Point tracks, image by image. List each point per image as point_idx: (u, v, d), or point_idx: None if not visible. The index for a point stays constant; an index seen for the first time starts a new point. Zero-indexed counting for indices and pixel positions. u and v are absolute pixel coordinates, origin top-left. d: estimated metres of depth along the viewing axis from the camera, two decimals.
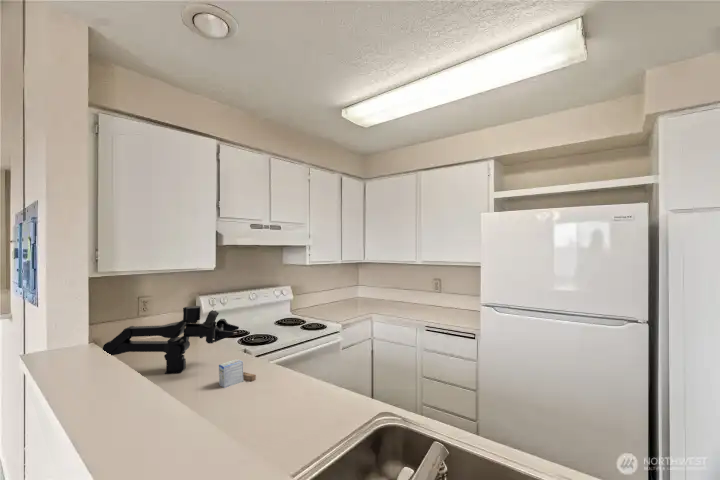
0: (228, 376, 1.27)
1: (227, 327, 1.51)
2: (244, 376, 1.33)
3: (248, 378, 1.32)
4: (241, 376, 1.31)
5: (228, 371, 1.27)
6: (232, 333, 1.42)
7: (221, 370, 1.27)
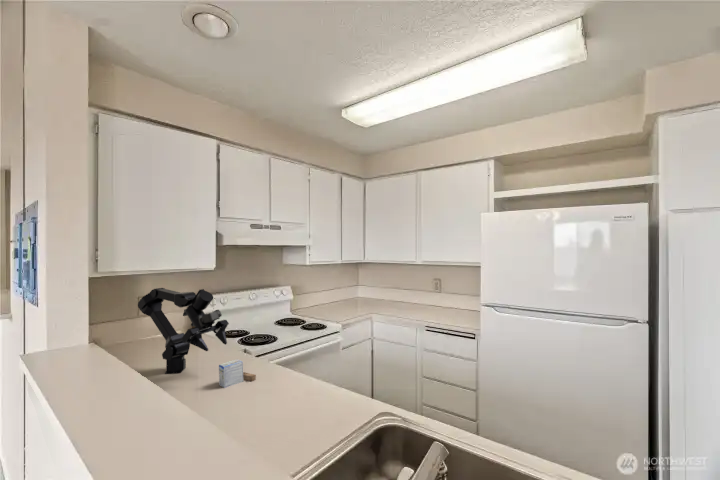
0: (228, 376, 1.27)
1: (220, 334, 1.39)
2: (244, 376, 1.33)
3: (248, 378, 1.32)
4: (241, 376, 1.31)
5: (228, 371, 1.27)
6: (206, 349, 1.29)
7: (221, 370, 1.27)
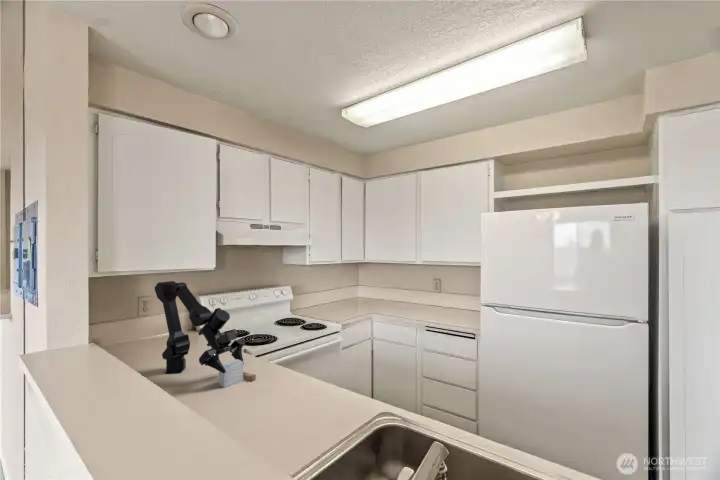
0: (228, 376, 1.27)
1: (236, 354, 1.35)
2: (244, 376, 1.33)
3: (248, 378, 1.32)
4: (241, 376, 1.31)
5: (228, 371, 1.27)
6: (223, 371, 1.25)
7: None
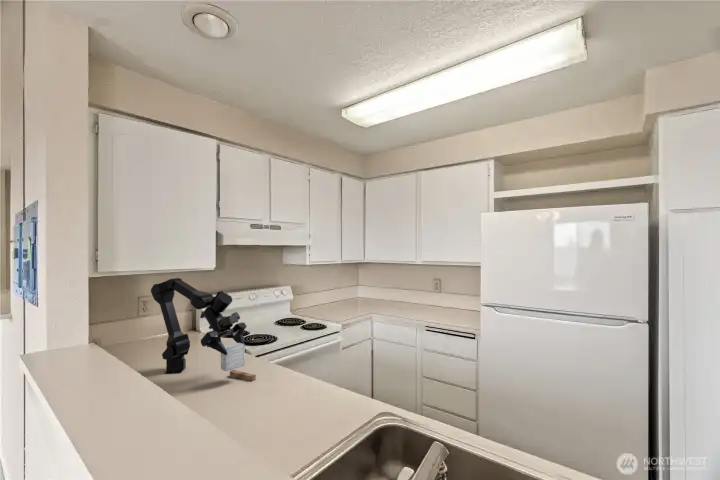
0: (230, 358, 1.28)
1: (238, 337, 1.36)
2: (244, 376, 1.33)
3: (248, 378, 1.32)
4: (242, 359, 1.32)
5: (230, 353, 1.28)
6: (225, 353, 1.26)
7: None
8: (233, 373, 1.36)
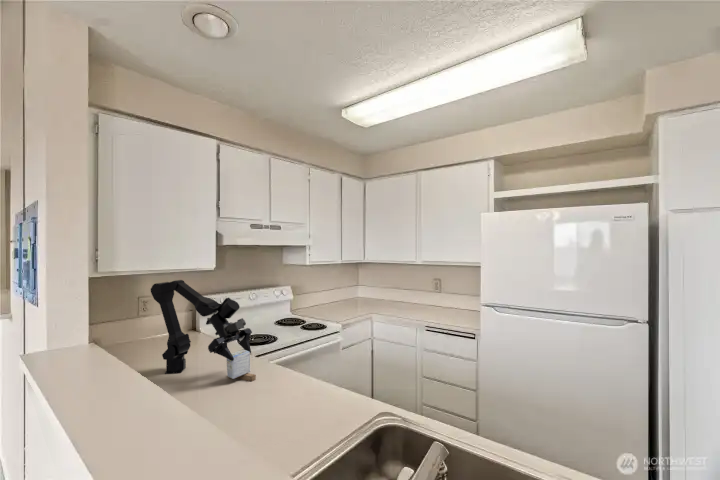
0: (236, 366, 1.30)
1: (244, 343, 1.39)
2: (244, 376, 1.33)
3: (248, 378, 1.32)
4: (248, 366, 1.35)
5: (236, 361, 1.30)
6: (231, 359, 1.29)
7: (228, 361, 1.31)
8: None
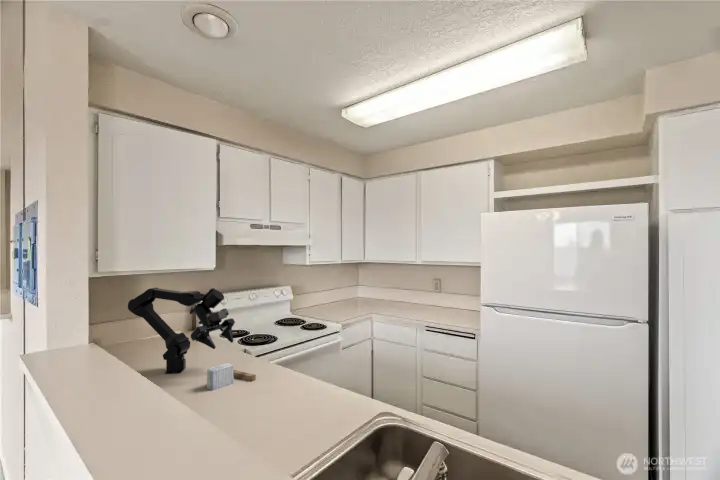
0: (222, 384, 1.26)
1: (227, 332, 1.43)
2: (244, 376, 1.33)
3: (248, 378, 1.32)
4: (227, 369, 1.28)
5: (218, 386, 1.25)
6: (213, 347, 1.33)
7: None
8: (233, 373, 1.36)
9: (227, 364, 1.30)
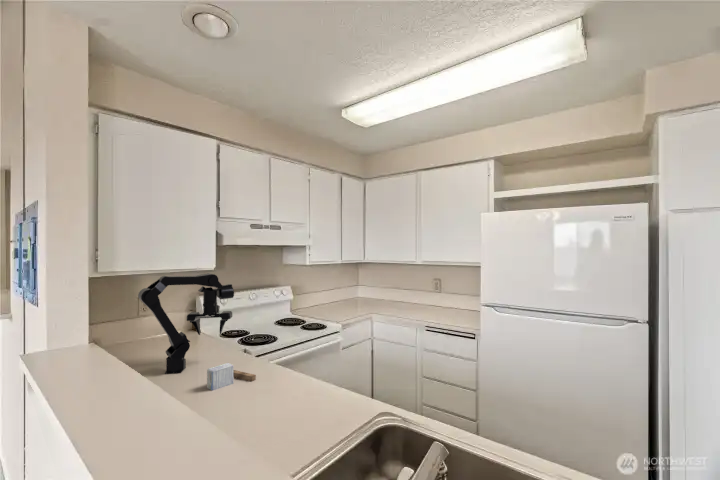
0: (222, 384, 1.26)
1: (198, 324, 1.53)
2: (244, 376, 1.33)
3: (248, 378, 1.32)
4: (227, 369, 1.28)
5: (218, 386, 1.25)
6: (221, 332, 1.55)
7: None
8: (233, 373, 1.36)
9: (227, 364, 1.30)
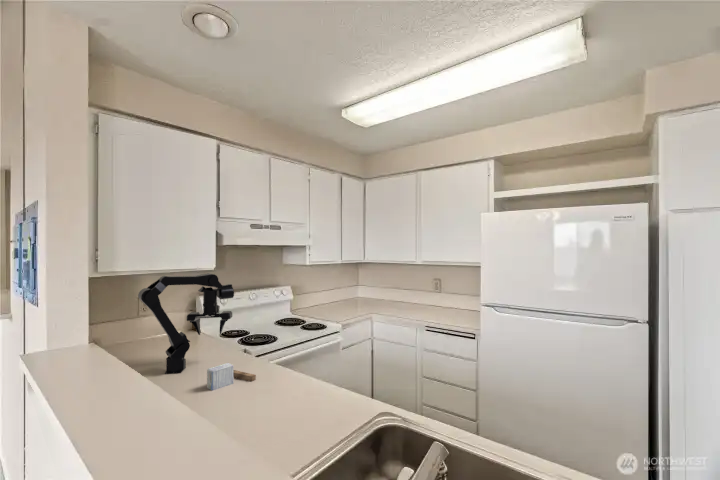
0: (222, 384, 1.26)
1: (198, 324, 1.53)
2: (244, 376, 1.33)
3: (248, 378, 1.32)
4: (227, 369, 1.28)
5: (218, 386, 1.25)
6: (221, 332, 1.55)
7: None
8: (233, 373, 1.36)
9: (227, 364, 1.30)
